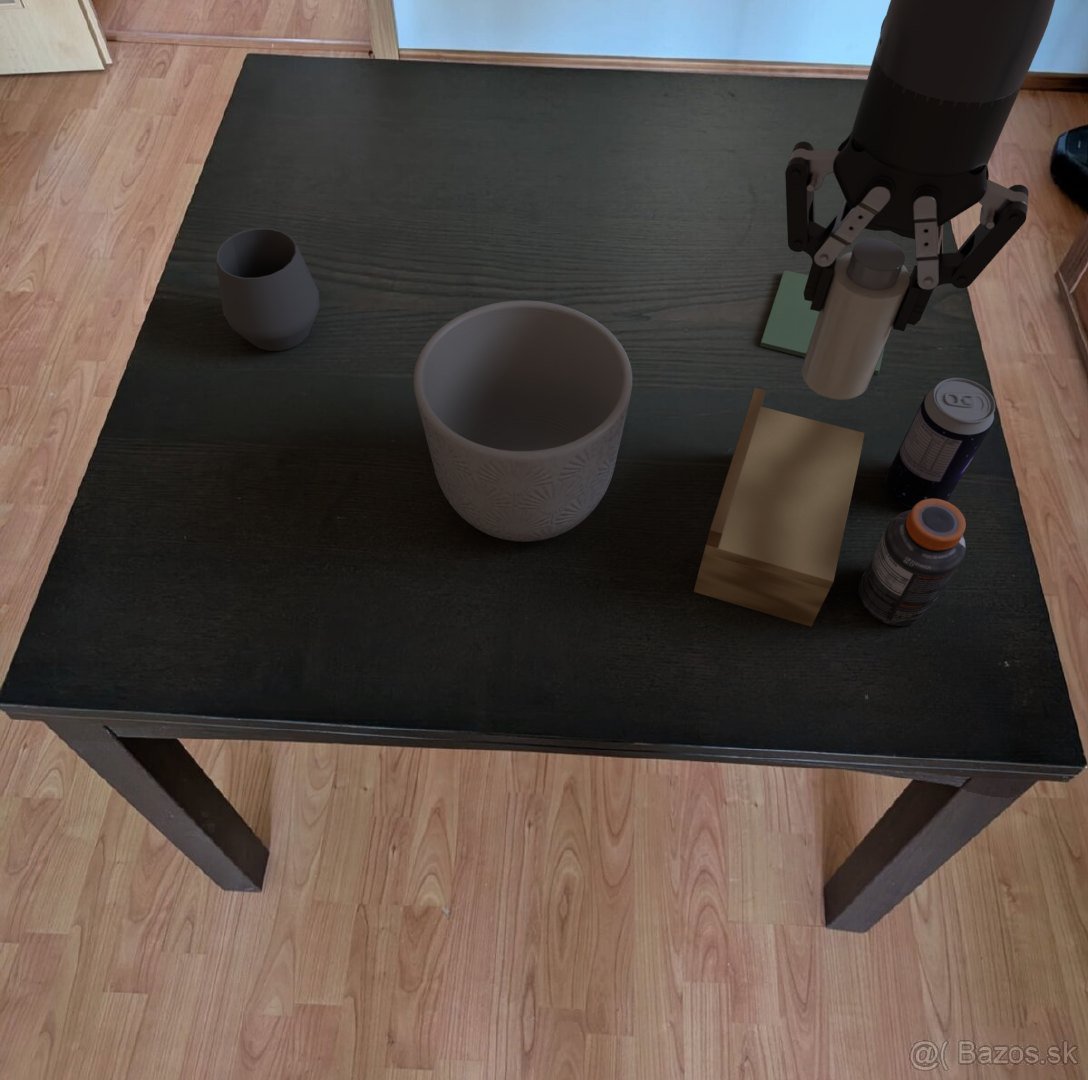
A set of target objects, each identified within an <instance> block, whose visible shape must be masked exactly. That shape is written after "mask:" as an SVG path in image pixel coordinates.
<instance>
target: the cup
mask: <svg viewBox="0 0 1088 1080" xmlns="http://www.w3.org/2000/svg"><path fill="white" fill-rule="evenodd" d="M215 263H216V270H217V278H218V286H219V291H220V292H219V293H220V300H221V307H222V313H223V315H224V317H225V319H226V321H227V322H228V324H229V326H230V328H231V329H232V330H233V331H235V332H236V333H237V334H239V335H240V336H241V337H243V339H245V340H246V341H248V342H249V343H251V344H252V345H254V346H255V347H256V348H258V349H261V350H264V351H268V352H282V351H285V350H291V349H293V348H294V347H296V346H298V345H300V344H302V343H303V341H305V339H306V340H307V338H308V337H309V335H310V332H311V330H312V329H313V325H314V323H315V320H316V318H317V315H318V314H319V310H320V293H319V289H318V287H317V285H316V283H315V280H314V279H313V277H312V273H311V272H310V270H309V268H308V265H307V263H306V262H305V260H304V257H303V255H302V253H301V251H300V249H299V247H298V245H297V243H296V241H295V240H294V239H293V237H292V235H289V234H288V233H286V232H285V231H283V230H280V229H275V228H272V227H255V228H250V229H245V230H242V231H239V232H237V233H235V234H233V235H231V236H229V237H228V238H227V239H226V240H225V241H223V242H222V243H221V244H220V246H219V247H218V250H217V251H216V259H215Z"/></svg>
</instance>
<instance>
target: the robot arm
mask: <svg viewBox="0 0 1088 1080" xmlns="http://www.w3.org/2000/svg"><path fill="white" fill-rule="evenodd" d="M1055 3H1056V0H890V2H889V4H888V6H887V7H888V8H887V11H886V14H885V16H884V18H883V20H882V23H881V26H880V32H879V38H878V41H877V44H876V48H875V52H874V55H873V59H872V62H871V65H870V69H869V71H868V75H867V79H866V81H865V85H864V89H863V92H862V96H861V99H860V102H859V106H858V109H857V112H856V115H855V119H854V123H853V126H852V128H851V131H850V133H849V135H848V136H847V137H846V139H844V140H843V141H842V142H841V143H840V145H839V146H838V147H837V149H817V150H816V149H814V146H813V145H812V143H810V142H809V141H799V142H796V144H795V145H794V146H793V149H792V151H791V154H790V156H789V157H790V158H789V161H788V163H787V166H786V169H785V172H784V174H785V177H784V178H785V200H786V229H787V230H786V231H787V247H788V248H789V249H790V250H791V251H792V252H794V253H801V252H804V253H806V254H807V255H808V256H810V258H811V262H812V263H811V265H810V266H811V267H810V270H809V273H808V279H807V283H806V286H805V290H804V299H805V300H807V301H812V304H811V307H810V310H814V311H819V312H820V311H821V308H822V305H823V302H824V299H825V296H826V292H827V289H828V286H829V283H830V280H831V277H832V274H833V271H834V267H835V263H836V261H837V260H838V257H839V256H840V255H841V254H842V253H843V251H844V250H845V249H846V248H847V246H851V245H852V244H853V242H855V240H856V239H857V238H858V236H859V235H861V233H862V232H863V231H864V230H870V231H875V232H885V231H886V232H891V233H894V234H896V235H898V236H900V237H903V238H908V239H912V240H914V246H915V260H916V264H914V266H913V269H912V271H911V274H910V285H909V288H908V291H907V293H906V295H905V298H904V300H903V303H902V305H901V308H900V310H899V313H898V315H897V318H896V320H895V322H894V325H893V327H892V330H896V331H900V332H905V330H906V328H907V325H912V326H915V325H917V324H918V323H919V322H920V321H921V319H922V316H923V314H924V312H925V309H926V308H927V305H928V303H929V301H930V298H931V297H932V294H933V291H934V290H935V289H936V288H937V287H939V286H941V285H945V284H947V285H949V284H952V286H953V287H954V288H957V289H966V288H968V287H970V286H971V285H972V284H973V283H974V282H975V280H977V278H978V277H979V276H980V275H981V273H982V272H983V271H985V269H986V268H987V266H988V265H989V264H990V263H991V262H992V261H993V260H994V259H995V257H996V256H997V255H998V254H999V253H1000V252H1001V251H1002V249H1003V248H1004V247H1005V246H1006V244H1008V242H1009V241H1010V240H1011V239H1012V238H1013V236H1014V235H1015V234H1016V233H1017V232H1018V230H1020V228H1021V227H1023V225H1024V224H1025V223H1026V221H1027V216H1028V208H1029V194H1030V193H1029V189H1028V188H1027V186H1025V185H1023V184H1013V185H1011V186H1009V187H1005V186H1003V185H1002V184H999V183H997V182H995V181H993V180H991V179H989V177H990V172H989V167H988V164H989V162H990V159H991V157H992V155H993V153H994V150H995V148H996V146H997V143H998V141H999V139H1000V136H1001V135H1002V133H1003V130H1004V127H1005V125H1006V123H1007V121H1008V119H1009V116H1010V114H1011V112H1012V109H1013V107H1014V104H1015V103H1016V100H1017V98H1018V95H1019V93H1020V91H1021V89H1022V87H1023V84H1024V82H1025V80H1026V77H1027V75H1028V73H1029V70H1030V68H1031V66H1032V64H1033V61H1034V59H1035V56H1036V54H1037V52H1038V49H1039V47H1040V45H1041V43H1042V40H1043V38H1044V36H1045V34H1046V31H1047V28H1048V26H1049V23H1050V19H1051V17H1052V13H1053V9H1054V5H1055ZM830 174H834V177H835V179H836V181H837V183H838V185H839V188H840V190H841V192H842V194H843V197H844V199H843V201H842V203H841V204H840V206H839V208H838V210H837V211H836V213H835V214H834V215H833V217H832V218H831V219H830V221H829V222H828V223H827V225H826V226H825V227H824V226H822V225H820V224H819V223H818V222H816V221H815V220H816V219H815V217H816V216H815V215H816V214H815V191H818V190H820V188H822V186H823V184H824V180H825V178H826V177H827V176H828V175H830ZM978 203H979V204H980V205H981V207H980V214H979V224H977V226H976V227H975V229H974V230H973V231H972V232H971V233H970V235H969V236H968V237H967V238H966V239H965V241H964V242H963V244H961V246H960V247H959V248H958V249H957V250H956V252H946V253H945V252H944V225H946V223H948V222H950V221H951V220H953V219H954V218H956V217H958V216H960V215H961V214H962V213H964V212H966V211H967V210H969V209H970V208H972V207H974V206H975V205H977V204H978Z"/></svg>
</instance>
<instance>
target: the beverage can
mask: <svg viewBox="0 0 1088 1080" xmlns="http://www.w3.org/2000/svg"><path fill="white" fill-rule="evenodd" d="M995 410H996V402H995V398H994V396H993V395H992V393H991V392H990V391H989V389H987V388H986V387H985V386H983V385H982V384H980V383H979V382H976V381H974V380H971V379H968V378H962V377H951V378H946V379H944V380H942V381H940V382H939V383H937V384H936V385H935V386H934V388H932V389H931V390H929V391H928V392H927V393H926V394H925V395H924V397H923V399H922V401H921V404H920V405H919V408H918V410H917V412H916V414H915V416H914V418H913V419H912V421H911V424H910V426H909V428H908V429H907V432H906V434H905V436H904V438H903V440H902V442H901V445H900V446H899V449H898V451H897V452H896V454H895V457H894V459H893V461H892V463H891V465H890V467H889V469H888V471H887V472H886V477H885V479H886V480H885V481H886V486H887V488H888V490H889V492H890V493H891V495H892V496H893V497H894V498H895V499H896V500H897V501H898V502H899V503H901V504H902V505H904V506H906V507H908V508H911V509H913V507H914V506H915V505H916V504H917V503H918V502H920V501H922V500H925V499H941V500H944V501H947V502H948V500H949V499H950V497H951V495H952V494H953V492H954V490H955V489H956V488H957V486H958V483H959V482H960V481H961V479H962V477H963V476H964V474H965V472H966V470H967V468H968V466H969V465H970V463H971V462H972V460H973V459H974V457H975V455H976V454H977V452H978V450H979V449H980V447H981V445H982V443H983V442H984V441H985V438H986V437H987V435H988V433H989V432H990V430H991V428H992V427H993V425H994V423H995Z"/></svg>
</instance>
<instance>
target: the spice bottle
mask: <svg viewBox="0 0 1088 1080" xmlns="http://www.w3.org/2000/svg"><path fill="white" fill-rule="evenodd" d="M905 263H906V255H905V253H904V250H902V248H901V247H900V246H898V244H895V243H894V242H892V241H890V240H886V239H883V238H876V237H875V238H873V237H872V238H866V239H862V240H860V241H858V242H857V243H856V244H855V245H854V247H853V248H852V251H849V252H846V253H844V254H843V255H841V256H840V257H839V258H837V260H836V263H835V267H834V271H833V274H832V277H831V280H830V283H829V286H828V289H827V292H826V296H825V299H824V302H823V305H822V308H821V311H820V312H819V315H818V318H817V321H816V324H815V327H814V330H813V333H812V337H811V340H810V343H809V346H808V349H807V352H806V355H805V357H804V359H803V362H802V365H801V376H802V380H803V382H804V383H805V384H806V386H807V387H808V388H809V389H811V390H812V391H813V392H814V393H816V394H817V395H819V396H822V397H825V398H827V399H832V400H839V401H841V400H842V401H845V400H852V399H855V398H857V397H859V396H861V395H863V394H864V393H865V392H866V391H867V389H868V388H869V386H870V384H871V381H872V378H873V376H874V375H875V374H874V371H875V369H876V367H877V364H878V362H879V359H880V357H881V354H882V352H883V349H884V350H885V347H886V344H887V342H888V339H889V337H890V334H891V333H892V330H893V325H894V322H895V320H896V318H897V315H898V313H899V310H900V308H901V305H902V303H903V300H904V298H905V295H906V293H907V291H908V288H909V285H910V276H911V274H910V272H909V271H908V268H907V267H906V266H905ZM883 353H884V352H883Z"/></svg>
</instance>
